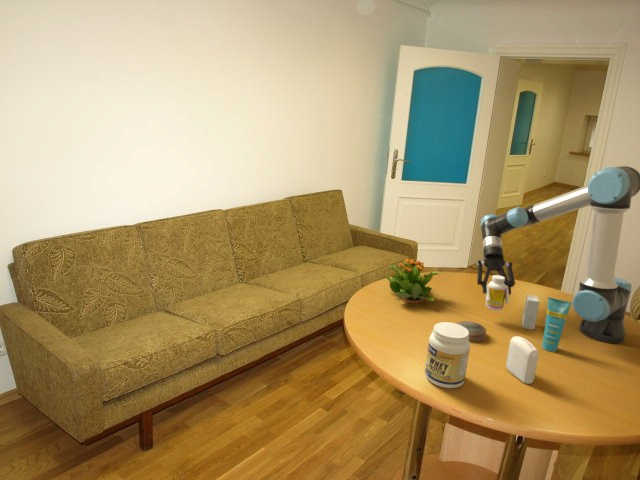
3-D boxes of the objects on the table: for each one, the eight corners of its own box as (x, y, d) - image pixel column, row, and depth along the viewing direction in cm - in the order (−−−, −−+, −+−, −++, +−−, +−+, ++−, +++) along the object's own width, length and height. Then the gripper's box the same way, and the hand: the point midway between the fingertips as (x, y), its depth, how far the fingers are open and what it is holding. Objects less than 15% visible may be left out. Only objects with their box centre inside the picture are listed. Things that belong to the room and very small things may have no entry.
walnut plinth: (491, 339, 171) (492, 331, 170) (469, 344, 166) (470, 336, 165) (469, 326, 180) (470, 318, 180) (448, 331, 176) (449, 323, 175)
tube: (537, 348, 166) (547, 298, 161) (538, 342, 170) (548, 294, 165) (560, 354, 162) (571, 304, 157) (561, 348, 166) (572, 299, 161)
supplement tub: (416, 377, 144) (422, 327, 140) (437, 363, 153) (443, 316, 148) (451, 395, 136) (459, 343, 131) (471, 379, 144) (479, 330, 140)
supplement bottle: (504, 311, 180) (509, 280, 176) (486, 309, 181) (490, 279, 178) (501, 305, 186) (505, 275, 183) (484, 303, 187) (488, 273, 184)
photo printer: (503, 367, 152) (509, 333, 149) (514, 366, 153) (520, 332, 150) (523, 385, 143) (530, 349, 139) (535, 383, 144) (542, 348, 140)
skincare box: (534, 330, 180) (539, 301, 176) (522, 328, 181) (527, 299, 178) (532, 323, 185) (538, 296, 182) (521, 321, 187) (526, 294, 183)
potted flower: (451, 308, 196) (456, 269, 191) (403, 314, 188) (407, 274, 183) (418, 286, 219) (422, 251, 214) (374, 291, 210) (377, 255, 205)
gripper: (514, 255, 193) (520, 307, 181) (466, 252, 195) (469, 303, 183) (520, 246, 186) (527, 299, 175) (470, 243, 188) (474, 296, 177)
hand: (497, 301), depth 179 cm, fingers closed on supplement bottle, 7 cm apart
